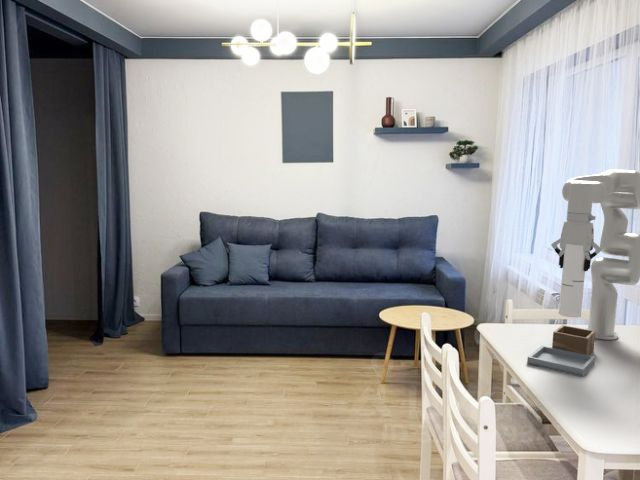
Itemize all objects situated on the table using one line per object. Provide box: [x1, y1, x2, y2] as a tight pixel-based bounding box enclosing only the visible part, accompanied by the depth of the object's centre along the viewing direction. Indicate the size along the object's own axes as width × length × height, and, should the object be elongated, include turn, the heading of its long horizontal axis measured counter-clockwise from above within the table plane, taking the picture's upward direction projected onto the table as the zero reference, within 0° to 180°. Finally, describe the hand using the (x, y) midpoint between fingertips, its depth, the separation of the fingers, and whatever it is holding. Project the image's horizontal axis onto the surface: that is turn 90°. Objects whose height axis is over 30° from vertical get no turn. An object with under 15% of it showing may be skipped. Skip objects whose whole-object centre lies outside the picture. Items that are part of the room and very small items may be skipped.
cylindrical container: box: [558, 244, 586, 318], centre depth 203 cm, size 7×7×25 cm
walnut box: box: [551, 324, 596, 356], centre depth 213 cm, size 12×12×8 cm
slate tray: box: [526, 345, 596, 378], centre depth 202 cm, size 16×18×2 cm
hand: (573, 268), depth 202 cm, fingers closed on cylindrical container, 7 cm apart
